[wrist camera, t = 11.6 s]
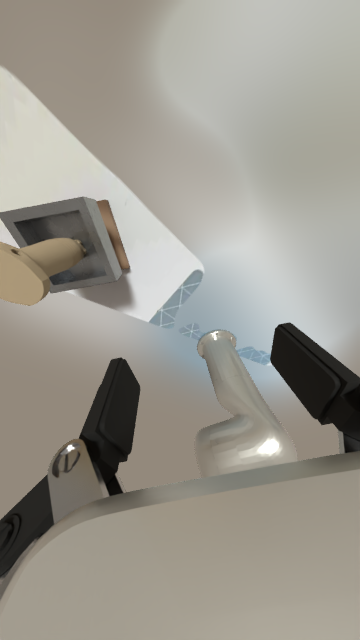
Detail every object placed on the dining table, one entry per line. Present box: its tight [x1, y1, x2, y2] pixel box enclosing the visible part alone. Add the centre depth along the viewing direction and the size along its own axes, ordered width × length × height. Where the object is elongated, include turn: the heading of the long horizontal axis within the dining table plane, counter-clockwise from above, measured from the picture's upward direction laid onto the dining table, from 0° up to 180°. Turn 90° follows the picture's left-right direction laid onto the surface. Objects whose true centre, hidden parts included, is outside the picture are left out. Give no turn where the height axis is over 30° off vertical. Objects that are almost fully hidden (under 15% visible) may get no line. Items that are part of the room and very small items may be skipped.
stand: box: [96, 200, 130, 269], centre depth 30 cm, size 12×12×6 cm
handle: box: [0, 238, 87, 306], centre depth 20 cm, size 5×6×15 cm
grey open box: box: [0, 197, 122, 293], centre depth 25 cm, size 11×11×4 cm
